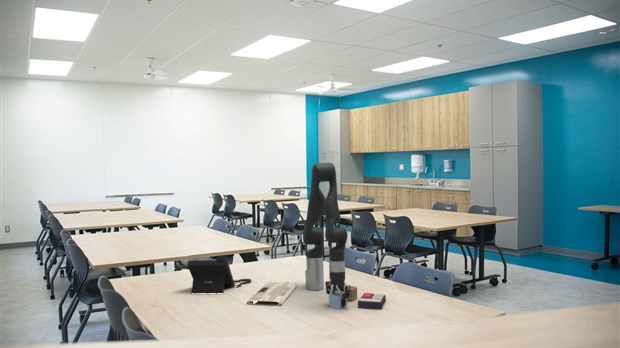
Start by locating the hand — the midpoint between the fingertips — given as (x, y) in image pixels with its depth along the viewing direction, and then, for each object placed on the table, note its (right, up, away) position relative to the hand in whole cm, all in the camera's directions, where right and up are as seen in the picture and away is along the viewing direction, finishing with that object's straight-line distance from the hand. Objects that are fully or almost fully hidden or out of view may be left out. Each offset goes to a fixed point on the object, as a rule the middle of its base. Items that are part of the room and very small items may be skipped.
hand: (338, 305), depth 213 cm
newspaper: (-31, -2, +23) cm, 39 cm away
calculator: (+17, -1, +2) cm, 17 cm away
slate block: (0, -1, 0) cm, 1 cm away
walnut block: (+6, 0, +11) cm, 12 cm away
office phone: (-63, -2, +40) cm, 75 cm away
